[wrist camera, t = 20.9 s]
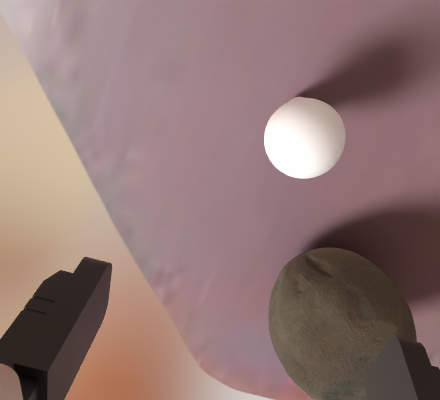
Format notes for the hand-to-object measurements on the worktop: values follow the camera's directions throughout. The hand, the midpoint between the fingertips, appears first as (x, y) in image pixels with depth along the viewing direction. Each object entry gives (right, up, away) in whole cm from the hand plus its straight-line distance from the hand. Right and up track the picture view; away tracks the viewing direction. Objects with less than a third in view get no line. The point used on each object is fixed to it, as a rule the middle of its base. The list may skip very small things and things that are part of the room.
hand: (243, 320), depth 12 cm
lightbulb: (+7, +12, +27) cm, 31 cm away
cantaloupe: (+12, -5, +36) cm, 39 cm away
